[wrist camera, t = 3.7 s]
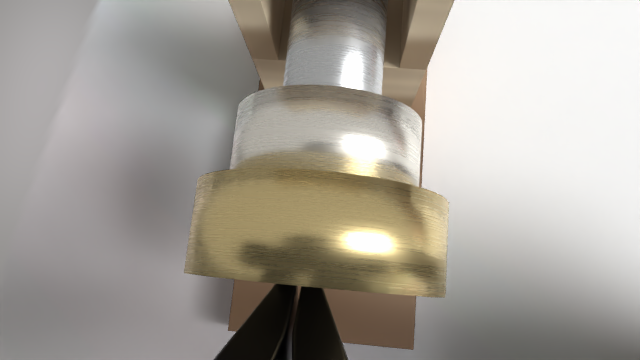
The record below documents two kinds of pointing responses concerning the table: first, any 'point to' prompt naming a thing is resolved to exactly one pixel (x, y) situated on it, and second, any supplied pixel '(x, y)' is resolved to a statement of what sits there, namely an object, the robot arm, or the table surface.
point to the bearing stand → (398, 83)
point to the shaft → (325, 172)
